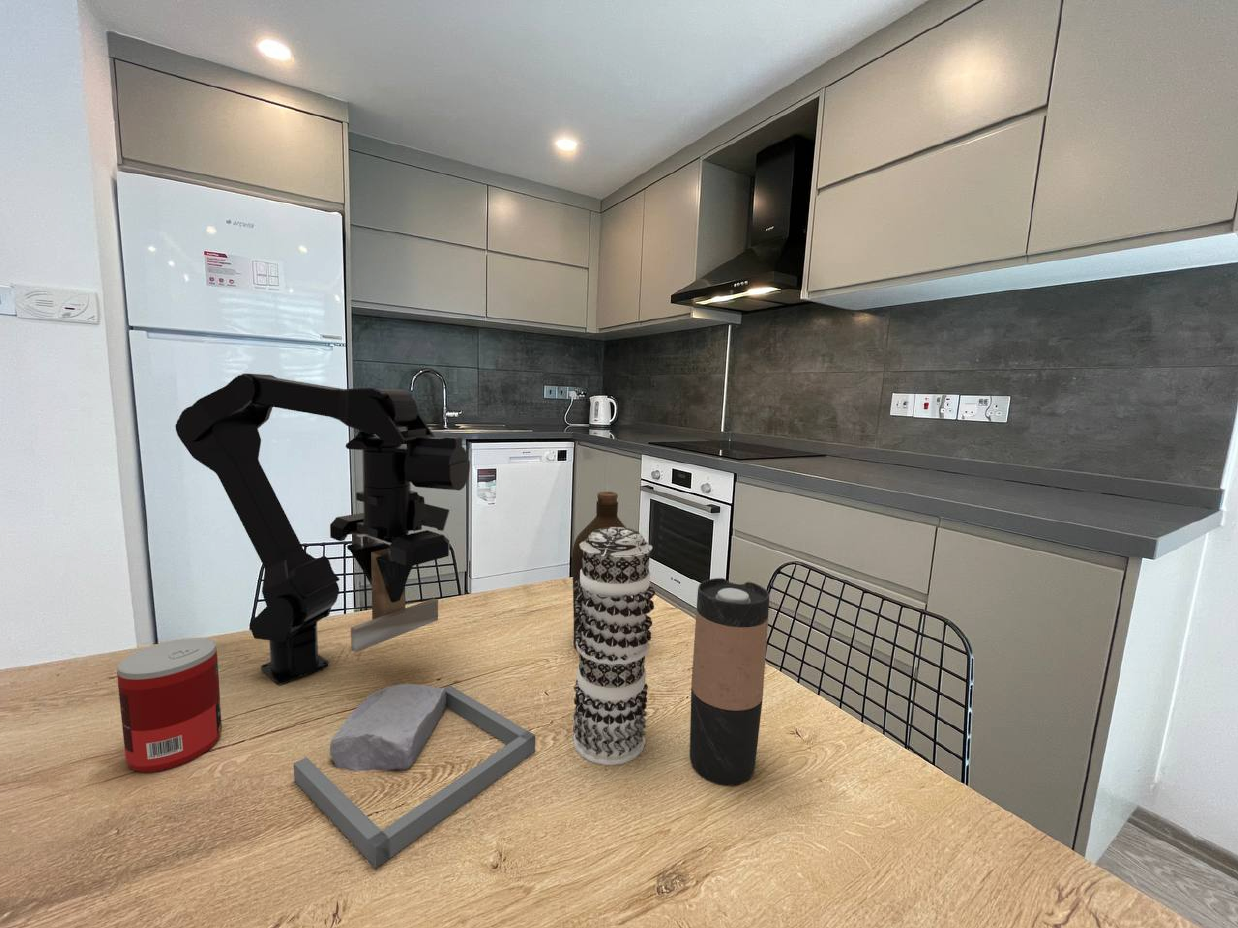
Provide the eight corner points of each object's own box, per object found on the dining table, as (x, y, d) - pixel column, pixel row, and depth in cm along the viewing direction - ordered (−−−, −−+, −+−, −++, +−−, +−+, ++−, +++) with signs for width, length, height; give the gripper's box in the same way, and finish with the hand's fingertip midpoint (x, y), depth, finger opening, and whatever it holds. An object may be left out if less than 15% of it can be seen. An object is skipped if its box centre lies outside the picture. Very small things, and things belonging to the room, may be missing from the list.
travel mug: (715, 797, 52) (728, 609, 49) (673, 750, 58) (683, 582, 56) (772, 774, 55) (786, 597, 53) (726, 732, 62) (737, 573, 59)
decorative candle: (583, 776, 54) (590, 547, 51) (560, 724, 62) (565, 524, 59) (661, 757, 57) (672, 540, 54) (629, 709, 66) (637, 520, 62)
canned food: (238, 734, 58) (232, 644, 57) (156, 783, 51) (147, 680, 49) (193, 719, 61) (186, 631, 59) (108, 763, 53) (98, 664, 52)
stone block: (324, 787, 54) (417, 772, 53) (314, 744, 53) (407, 730, 53) (377, 720, 65) (454, 708, 65) (370, 685, 65) (446, 673, 65)
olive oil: (640, 659, 79) (647, 500, 75) (572, 662, 77) (576, 500, 74) (628, 628, 89) (634, 487, 86) (567, 630, 87) (571, 487, 84)
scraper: (338, 642, 66) (336, 559, 64) (420, 612, 75) (420, 540, 74) (355, 652, 63) (354, 567, 62) (438, 620, 73) (438, 546, 72)
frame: (294, 781, 52) (293, 763, 51) (449, 699, 66) (449, 684, 66) (376, 868, 43) (375, 847, 42) (535, 751, 57) (535, 734, 57)
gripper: (483, 487, 68) (481, 598, 70) (401, 470, 79) (401, 567, 81) (408, 498, 59) (409, 625, 61) (326, 478, 70) (329, 587, 72)
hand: (388, 598), depth 69 cm, fingers closed on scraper, 3 cm apart
